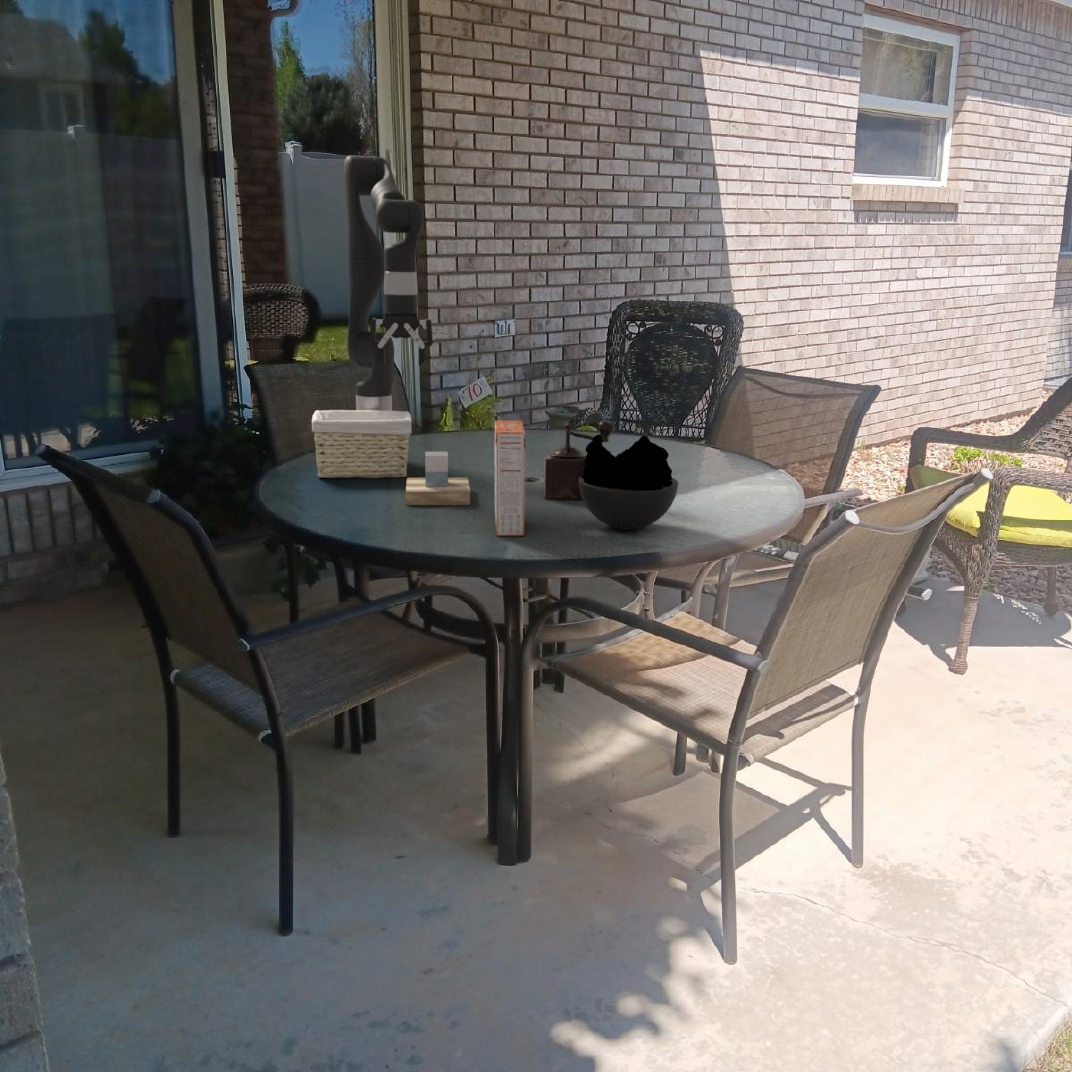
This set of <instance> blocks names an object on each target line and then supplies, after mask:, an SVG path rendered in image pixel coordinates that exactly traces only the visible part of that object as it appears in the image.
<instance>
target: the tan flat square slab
mask: <svg viewBox="0 0 1072 1072" xmlns="http://www.w3.org/2000/svg"><path fill="white" fill-rule="evenodd" d="M405 486H406V487H405V505H406V506H466V505H467V506H470V505H471V488H470V482H469V477H448V487H426V486H425V477H407V478H406V485H405Z"/></svg>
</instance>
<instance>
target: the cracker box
mask: <svg viewBox="0 0 1072 1072" xmlns="http://www.w3.org/2000/svg"><path fill="white" fill-rule="evenodd" d="M493 460H494V463H493V464H494V471H493V472H494V519H495V522H494V523H495V534H496V537H524V536H525V513H526V512H525V510H526V509H525V505H526V504H525V499H526V498H525V493H526V491H525V489H526V486H525V484H526V483H525V482H526V480H525V479H526V478H525V477H526V476H525V475H526V432H525V428H524V425H523V421H522V420H509V419H508V420H507V419H501V420H500V419H499V420H494V458H493Z"/></svg>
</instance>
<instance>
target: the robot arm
mask: <svg viewBox="0 0 1072 1072" xmlns="http://www.w3.org/2000/svg"><path fill="white" fill-rule="evenodd" d="M343 163H344V164H343V184H344V185H343V186H344V196H345V197H344V199H345V208H346V218H347V219H346V221H347V273H348V275H347V276H348V285H349V286H348V290H349V291H348V293H349V297H348V298H349V301H348V302H349V304H348V307H349V308H348V309H349V310H348V311H349V312H348V326H347V327H348V328H347V354H348V356H347V357H348V359H349V361H350V363H351V364H352V366H354V367H357V368H365V369H371V375H370V377H369V378H367V379H364V380H363V381H359V382H357V383H356V384H355V407H356V409H355V410H380V411H393V399H392V397H393V395H392V394H393V393H392V391H393V386H394V375H395V374H394V373H395V372H394V371H395V345H394V340H393V338H394V339H399V338H402V339H409V338H412V339H413V340H414V342H415V343H416V344H417V346H418V366H422V365H423V364H424V363H425V361H426V353H425V351H426V349H427V348H429V347H432V346H433V345H434V343H433V342H434V341H433V330H432V328H433V327H432V319H430V318H427V319H420V318H419V315H418V312H419V310H418V290H419V289H418V278H417V262H416V261H417V248H418V243H419V238H420V234H421V231H422V228H423V227H422V226H423V223H424V209H423V207H422V205H421V204H420V202H418V201H416V200H413V199H412V200H411V199H406V198H405V196H404V195H403V193H402V192H401V191H400V190H399V188H398V187H397V184H396V181H395V177H394V175H393V171H392V168H391V166H390V164H389V162H388V161H387V160H386V159H385V158H383V157H380V156H377V155H376V156H374V155H372V156H371V155H357V154H356V155H355V154H353V155H348V156H347V157H345V159H344V162H343ZM360 196H365V197H366V196H367V197H370V201H371V205H372V207H373V209H375V223H376V225H377V228H378V229H379V230H380V231H382V232H384V233H388V234H389V233H392V234H393V233H394V234H405V237H404V239H403V240H402V241H401V242H397V243H392V244H388V245H386V246H385V248H384V247H383V246H384V245H382V243H381V241H380V239H379V238H378V236H377V235H376V232H375V231H374V230H373V229H372V227H371V225H370V224H369V222H368V219H367V218H366V216H365V214H364V211H363V207H362V203H361V200H360ZM382 287H383V307H384V309H383V311H384V312H383V313H384V314H383V319H380V318H375V317H372V318H371V319H370V320H369V317H370V314H371V313H370V312H371V309H372V307H373V305H374V303H375V300H376V298H377V297H378V296H379V293H380V291H382V290H381V289H382ZM369 321H370V322H369ZM369 323H370V325H369ZM380 325H383V327H384V329H385V330H386V332H384V331H377V330H378V329H379V328H380ZM420 325H421V326H422V328H423V329H424V330H426V340H425V341H423V340H422V338H421V337H420V335H419V334H418V333H417V332H416V331H417V329H418V328H419V327H420ZM369 326H370V327H369ZM369 328H370V329H369Z"/></svg>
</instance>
